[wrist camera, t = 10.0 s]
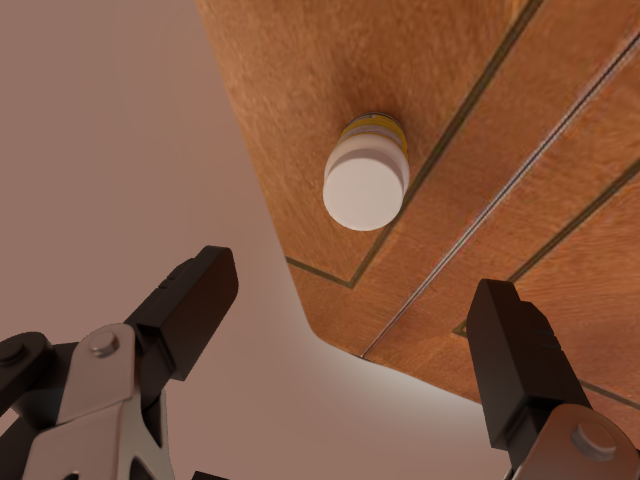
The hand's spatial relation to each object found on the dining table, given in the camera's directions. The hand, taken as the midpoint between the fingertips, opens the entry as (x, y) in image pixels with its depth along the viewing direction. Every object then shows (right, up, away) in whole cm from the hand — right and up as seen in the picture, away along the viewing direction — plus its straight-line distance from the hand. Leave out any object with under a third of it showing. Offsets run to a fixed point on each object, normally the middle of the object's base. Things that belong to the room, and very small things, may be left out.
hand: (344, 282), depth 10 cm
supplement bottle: (+3, +8, +12) cm, 15 cm away
